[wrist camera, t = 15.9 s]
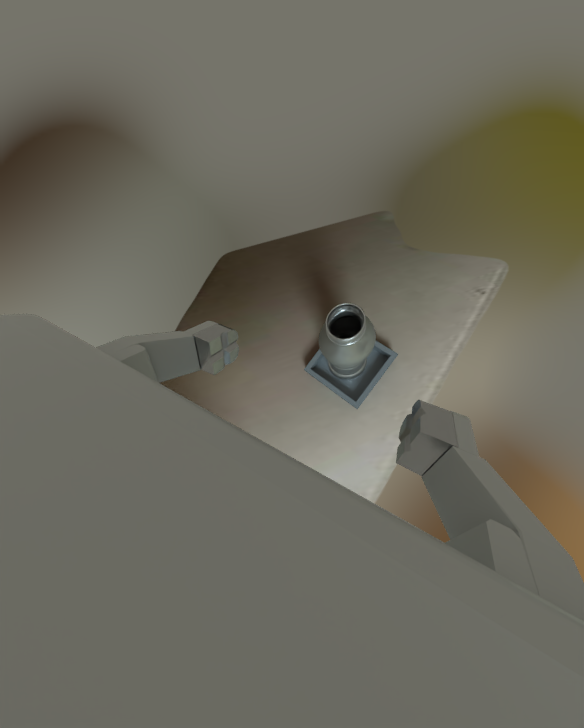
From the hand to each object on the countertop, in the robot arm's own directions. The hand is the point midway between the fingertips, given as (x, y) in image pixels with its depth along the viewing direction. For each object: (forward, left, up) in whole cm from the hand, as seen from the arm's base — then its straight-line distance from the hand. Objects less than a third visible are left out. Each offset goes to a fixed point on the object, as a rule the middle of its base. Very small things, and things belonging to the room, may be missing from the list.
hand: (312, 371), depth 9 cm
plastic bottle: (+6, +3, -30) cm, 31 cm away
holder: (+6, +2, -30) cm, 31 cm away
